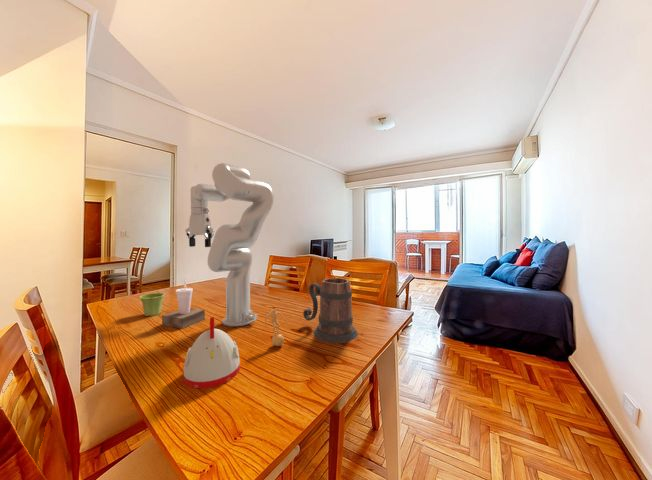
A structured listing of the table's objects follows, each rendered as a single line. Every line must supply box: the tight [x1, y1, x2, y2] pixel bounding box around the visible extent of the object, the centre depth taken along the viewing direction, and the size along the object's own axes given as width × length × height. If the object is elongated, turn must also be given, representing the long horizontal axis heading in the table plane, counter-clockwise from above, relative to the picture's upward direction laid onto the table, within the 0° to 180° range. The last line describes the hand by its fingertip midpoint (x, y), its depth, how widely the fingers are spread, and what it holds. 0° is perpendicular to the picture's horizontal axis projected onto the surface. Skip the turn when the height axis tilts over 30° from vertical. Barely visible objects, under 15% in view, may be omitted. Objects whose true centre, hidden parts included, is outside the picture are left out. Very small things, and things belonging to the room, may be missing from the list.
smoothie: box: [175, 278, 194, 314], centre depth 105 cm, size 6×6×14 cm
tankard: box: [302, 277, 359, 344], centre depth 97 cm, size 24×17×20 cm
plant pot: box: [139, 292, 166, 317], centre depth 115 cm, size 9×9×9 cm
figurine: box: [264, 308, 287, 347], centre depth 85 cm, size 8×6×12 cm
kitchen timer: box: [183, 316, 241, 389], centre depth 68 cm, size 14×14×15 cm
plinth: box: [161, 307, 206, 329], centre depth 106 cm, size 11×11×4 cm
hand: (200, 246), depth 124 cm, fingers open, 9 cm apart
